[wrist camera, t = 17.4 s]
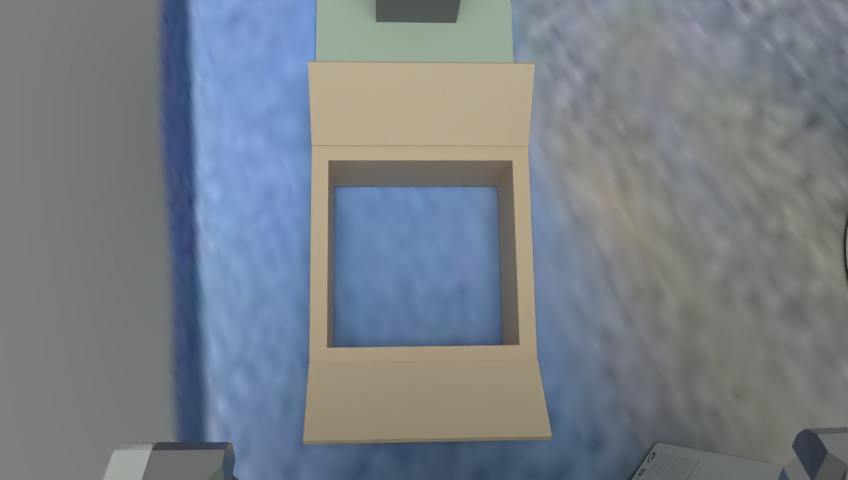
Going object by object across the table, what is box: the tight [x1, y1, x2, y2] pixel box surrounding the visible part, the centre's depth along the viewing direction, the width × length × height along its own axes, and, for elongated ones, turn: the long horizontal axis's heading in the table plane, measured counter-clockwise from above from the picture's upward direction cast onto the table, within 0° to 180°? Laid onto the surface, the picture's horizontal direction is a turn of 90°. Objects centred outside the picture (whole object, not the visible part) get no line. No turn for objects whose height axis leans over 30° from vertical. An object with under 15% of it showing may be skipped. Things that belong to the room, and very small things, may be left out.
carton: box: [303, 61, 552, 445], centre depth 38 cm, size 11×17×7 cm, turn 1°
